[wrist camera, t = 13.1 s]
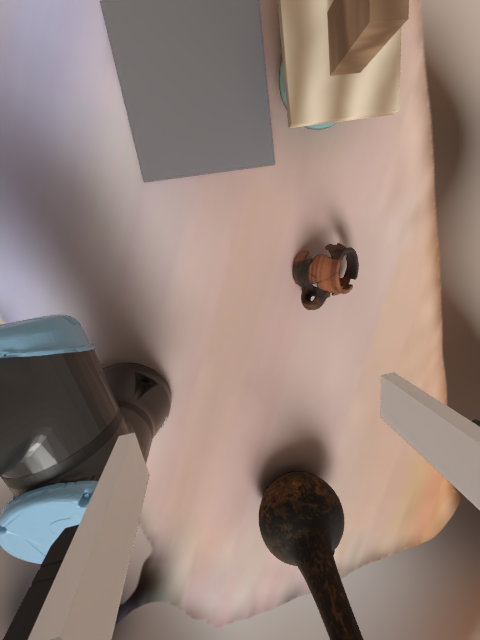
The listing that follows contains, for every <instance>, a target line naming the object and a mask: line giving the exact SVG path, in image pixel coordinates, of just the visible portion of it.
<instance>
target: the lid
mask: <svg viewBox="0 0 480 640" xmlns="http://www.w3.org/2000/svg"><path fill="white" fill-rule="evenodd" d="M277 4H278V15H279V26H280V37H281V49H282V60H283V71H284V82H285V93H286V104H287V115H288V126H289V128H294V127H302V126H309V125H317V124H325V123H332V122H340V121H348V120H356V119H363V118H371V117H379V116H386V115H394V114H395V113H397V112H398V111H399V100H400V57H401V26H402V25H403V24H404V23H405V22H406V21H407V20H408V14H409V0H277Z"/></svg>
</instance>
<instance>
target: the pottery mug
mask: <svg viewBox="0 0 480 640" xmlns="http://www.w3.org/2000/svg"><path fill="white" fill-rule="evenodd" d="M325 249H326V250H329V252H330V254H331V257H332V259H331V258H330V257H327V256H325V255H322V254H320V255H317V256H316V257H315V258H314V259H310V260H306V257H307V255H308V253H309V252H308V251H304V252H300V253H298V255H297V256H296V258H295V261H294V265H293V278H294V281H295V283H296V284H298V285H299V286H301V287H302V295H301V300H302V304H303V306H304V307H305V308H306V309H307V310H316V309H318V308H320V307H321V306H322V305H323V303H324V302H325V300H326V298H328V297H330V293H332V295H333V296H334V295H338V294H340V293H342V294H346V293H348V292H349V291H350V290H351V289H352V288H353V285H351V284H349V282H350V279H356V278H357V275H358V267H359V263H358V257H357V254H356V251H355V250H354V249H353V248H346V247H345V246H343V245H342V244H340V243H337V245H332V244H329V245H327V246H326V247H325ZM345 254H346V256H347V257H346V260H347V269H346V272H345V275H344V277H343V278H340V279H339V268H340V264H341V260H342V259H343V257H344V256H345ZM305 260H306V261H305ZM314 283H317V287H315V286H313V285H312V284H314ZM342 287H343V288H342ZM312 296H315V298H314V300H313V301H311V300H310V299H311V297H312Z"/></svg>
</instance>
